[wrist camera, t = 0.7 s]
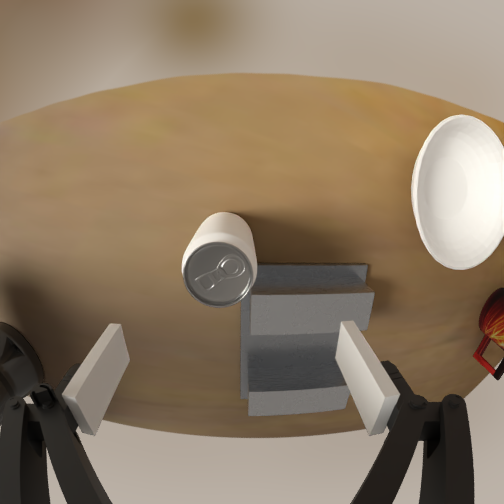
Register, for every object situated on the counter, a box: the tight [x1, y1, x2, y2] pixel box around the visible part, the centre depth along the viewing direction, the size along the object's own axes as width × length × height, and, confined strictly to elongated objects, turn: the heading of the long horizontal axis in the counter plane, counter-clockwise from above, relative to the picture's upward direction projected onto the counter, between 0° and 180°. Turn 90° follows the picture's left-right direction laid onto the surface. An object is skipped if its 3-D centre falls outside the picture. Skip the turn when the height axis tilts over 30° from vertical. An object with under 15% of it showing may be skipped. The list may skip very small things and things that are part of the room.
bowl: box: [411, 115, 504, 270], centre depth 31 cm, size 20×20×6 cm
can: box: [182, 212, 257, 308], centre depth 29 cm, size 6×6×12 cm
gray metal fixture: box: [241, 263, 375, 416], centre depth 36 cm, size 16×22×6 cm
